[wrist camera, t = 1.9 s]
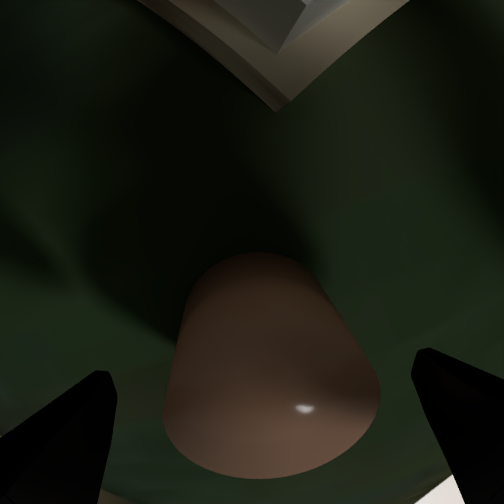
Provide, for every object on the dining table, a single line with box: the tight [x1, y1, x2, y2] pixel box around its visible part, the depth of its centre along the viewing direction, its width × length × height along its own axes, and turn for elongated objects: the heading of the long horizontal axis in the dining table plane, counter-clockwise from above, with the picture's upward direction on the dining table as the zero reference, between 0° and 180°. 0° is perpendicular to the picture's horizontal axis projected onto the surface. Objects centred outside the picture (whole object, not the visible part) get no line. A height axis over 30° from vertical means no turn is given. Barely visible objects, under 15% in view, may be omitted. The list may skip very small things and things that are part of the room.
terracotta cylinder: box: [163, 252, 380, 479], centre depth 9 cm, size 5×5×5 cm
